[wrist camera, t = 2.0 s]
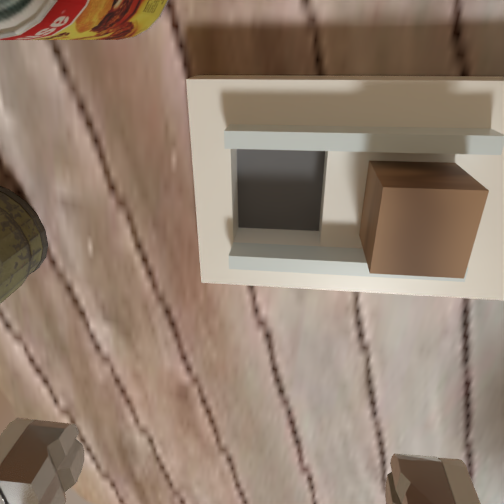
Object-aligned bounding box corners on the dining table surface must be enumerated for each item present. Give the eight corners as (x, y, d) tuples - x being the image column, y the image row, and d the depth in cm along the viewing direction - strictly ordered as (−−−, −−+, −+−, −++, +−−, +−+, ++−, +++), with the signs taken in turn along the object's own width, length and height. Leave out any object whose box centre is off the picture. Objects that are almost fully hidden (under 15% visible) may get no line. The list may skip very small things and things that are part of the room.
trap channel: (617, 76, 23) (689, 85, 19) (538, 280, 30) (578, 321, 26) (198, 75, 26) (176, 82, 22) (209, 262, 33) (195, 297, 28)
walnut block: (455, 162, 24) (489, 190, 19) (437, 238, 26) (463, 278, 22) (369, 160, 24) (383, 187, 20) (359, 234, 27) (369, 273, 22)
